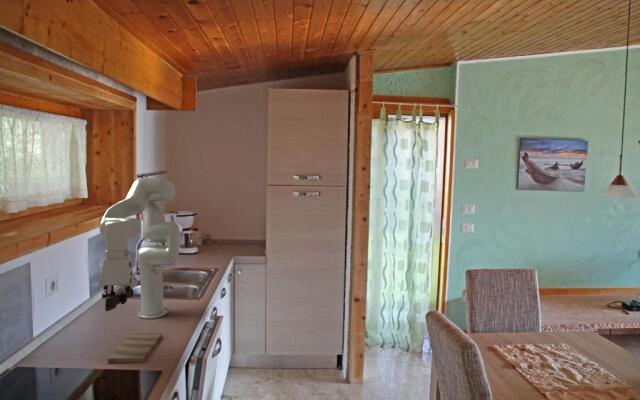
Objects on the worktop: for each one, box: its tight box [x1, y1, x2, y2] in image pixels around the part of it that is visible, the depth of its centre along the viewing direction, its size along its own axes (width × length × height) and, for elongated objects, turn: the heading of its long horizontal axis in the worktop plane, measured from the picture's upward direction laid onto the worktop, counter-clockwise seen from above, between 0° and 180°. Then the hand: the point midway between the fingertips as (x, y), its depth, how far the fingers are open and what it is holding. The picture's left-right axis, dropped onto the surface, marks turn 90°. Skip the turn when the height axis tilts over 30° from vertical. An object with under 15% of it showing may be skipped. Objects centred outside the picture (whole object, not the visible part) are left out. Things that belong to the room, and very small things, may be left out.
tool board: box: [107, 332, 163, 364], centre depth 176 cm, size 24×12×2 cm, turn 3°
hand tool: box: [104, 287, 134, 312], centre depth 176 cm, size 19×4×5 cm, turn 176°
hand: (118, 302), depth 176 cm, fingers closed on hand tool, 3 cm apart
